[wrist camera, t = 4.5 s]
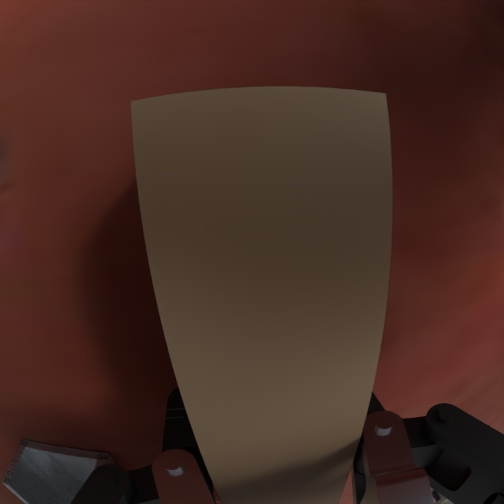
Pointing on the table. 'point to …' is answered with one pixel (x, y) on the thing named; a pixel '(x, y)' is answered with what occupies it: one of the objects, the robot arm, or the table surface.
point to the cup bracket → (51, 472)
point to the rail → (270, 275)
